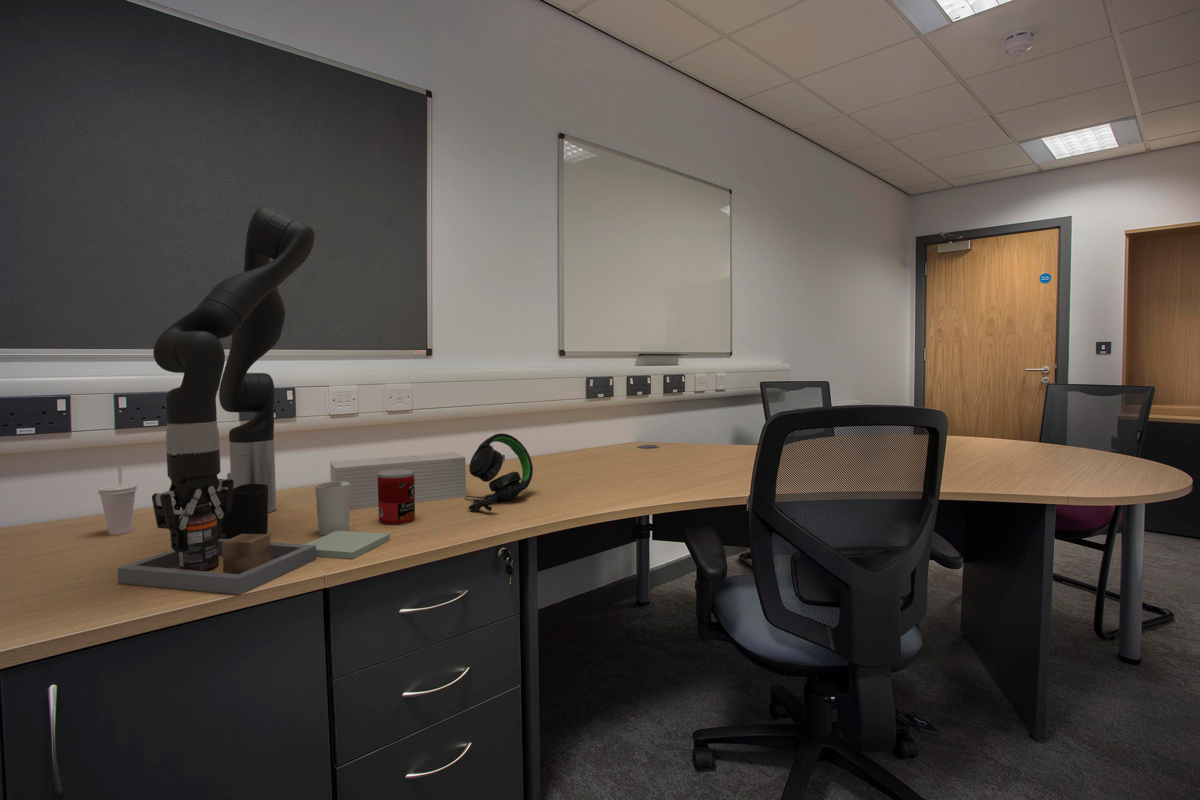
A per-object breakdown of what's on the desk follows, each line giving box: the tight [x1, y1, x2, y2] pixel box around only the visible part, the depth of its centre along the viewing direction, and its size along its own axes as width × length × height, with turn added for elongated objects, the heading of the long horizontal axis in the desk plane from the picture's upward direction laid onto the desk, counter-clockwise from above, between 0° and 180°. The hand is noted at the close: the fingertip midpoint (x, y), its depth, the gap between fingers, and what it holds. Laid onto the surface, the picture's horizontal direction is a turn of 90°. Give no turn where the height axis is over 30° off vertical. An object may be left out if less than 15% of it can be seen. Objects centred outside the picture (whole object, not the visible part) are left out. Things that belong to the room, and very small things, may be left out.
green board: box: [303, 530, 391, 560], centre depth 114 cm, size 12×12×1 cm
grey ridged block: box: [329, 451, 467, 511], centre depth 155 cm, size 32×11×11 cm, turn 120°
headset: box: [464, 432, 534, 512], centre depth 152 cm, size 16×12×27 cm
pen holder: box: [221, 484, 269, 539], centre depth 122 cm, size 9×9×10 cm
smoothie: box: [97, 465, 138, 536], centre depth 125 cm, size 6×6×14 cm
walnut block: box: [222, 533, 272, 574], centre depth 100 cm, size 5×5×6 cm
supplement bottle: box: [177, 502, 220, 572], centre depth 102 cm, size 6×6×11 cm
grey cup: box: [314, 481, 350, 536], centre depth 125 cm, size 7×7×10 cm
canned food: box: [377, 469, 416, 525], centre depth 134 cm, size 8×8×11 cm
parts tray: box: [117, 538, 318, 596], centre depth 101 cm, size 23×17×2 cm
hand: (197, 545), depth 102 cm, fingers closed on supplement bottle, 6 cm apart
